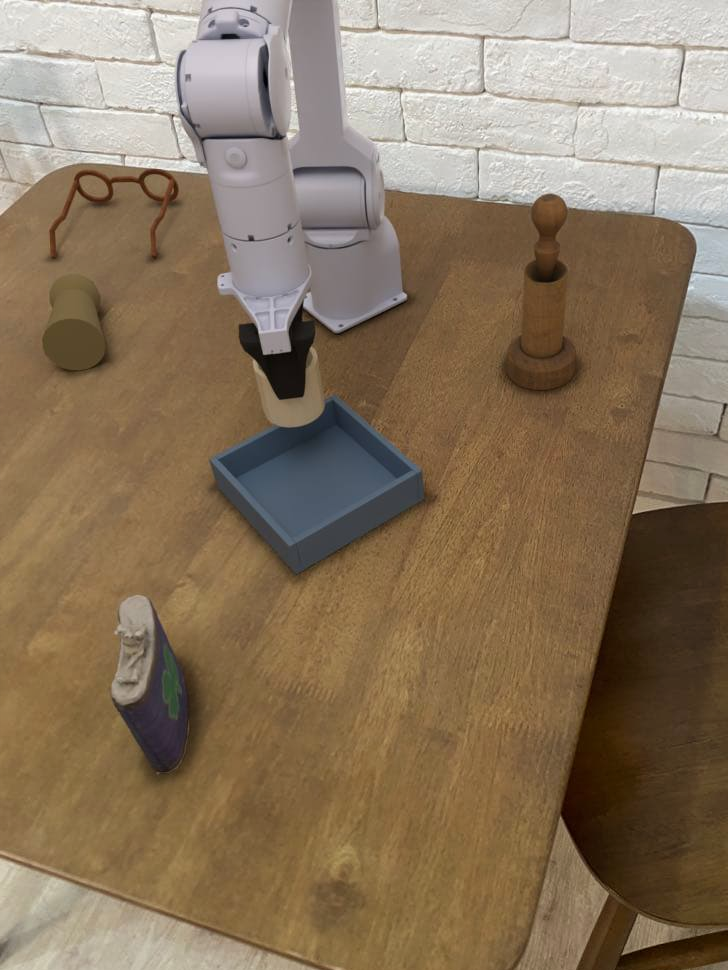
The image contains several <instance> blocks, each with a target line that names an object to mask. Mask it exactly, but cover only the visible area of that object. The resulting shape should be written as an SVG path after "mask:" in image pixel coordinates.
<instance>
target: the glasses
mask: <svg viewBox="0 0 728 970" xmlns="http://www.w3.org/2000/svg"><path fill="white" fill-rule="evenodd" d="M151 175H159V176H162V177H164V178H166V179H167V180H168V181H169V182H168V185H167V188H166V192H165V195H164V196H162V195H161V196H160V195H156V194H154V193H153V192H151V190H149V188H148V186H147V185H146V182H145V179H146V178H147V177H149V176H151ZM87 176H91V177H96V178H98V179H100V180H101V181H103V182H104V183H105V186H106V187H107V190H108V194H107V195H105V196H102V197H98V196H92V195H90V194H88V193H87V192H86V191H85V190H84V189H83V187H82V186H81V183H80V180H81V178H82V177H87ZM116 183H135V184H138V185H139V186H140V188H141V190H142V191H143V193H144V194H145V195H146V196H147V197H148V198H149V199H151V200H153V201H155V202H160V203H162V204H161V208H160V212H159V214H158V215H157V216H156V218H154V220H153V223H152V225H151V226H150V229H149V234H150V236H149V237H150V252H151V253H150V254H151V257H152V258H158V257H157V255H158V254H157V237H156V236H157V235H156V231H157V229H158V227H159V225H160V223H161V222H162V221H163V220H164V218H165V216H166V213H167V212H166V211H167V209H168V206H169V202H172V201H174V200H176V199H177V198H178V195H179V192H180V188H179V184H178V182H177V180H176V178H175V177H174V175H172V174H171V173H170V172H168V171H166V170H164V169H161V168H148V169H145V170H143V171H142V172H141V173H140V174H139V176H138V177H135V176H131V175H129V176H127V175H126V176H125V175H124V176H112V177H111V178H109V176H107V175H106V174H104V173H102V172H100V171H98V170H94V169H83V170H79V171H77V173H76V174H75V176H74V178H73V182H72V185H71V188H70V190H69V193H68V196H67V198H66V200H65V204H64V206H63V208H62V211H61V214H60V215H59V216H58V217H56V219H55V220H54V221H53V223H52V225H51V226H50V229H49V249H50V250H49V251H50V253H49V254H50V257H51V258H52V259H56V258H57V243H56V242H57V241H56V240H57V239H56V231H57V229H58V228H59V227H60V225H61V224H62V223H63V222H64V221H65V220H66V219H67V216H68V214H69V211H70V208H71V206H72V204H73V201H74V198H75V195H76V192H78V194H79V195H80V196H81V197H83V199H85V200H87V201H89V202H92V203H97V204H104V203H108V202H110V201H111V200H112V199H113V196H114V187H113V184H116Z"/></svg>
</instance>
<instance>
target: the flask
mask: <svg viewBox="0 0 728 970" xmlns="http://www.w3.org/2000/svg"><path fill="white" fill-rule="evenodd" d="M117 618H118V625H117V627H116V629H115V630H114V631H113V634H114V635H115V636H117V635H119V634H120V637H119V642H120V644H119V653H118V663H117V667H116V672H115V674H114V678H113V680H112V681H111V685H110V691H109V694H110V698H111V700H112V703H113V705H114V707H115V708H116V711H117V712H118V713H119V715H120V718H122V720H123V721H124V723H125V725H126V727H127V728H128V729H129V730H130V733H131V734H132V737H133V738H134V740H135V742H136V744H137V745H138V746H139V747H140V749H141V751H142V753H143V754H144V757H145V758H146V759H147V761H148V764H149V767H150V768H151V769H152V770H153V771H154V772H156V775H157V776H158V775H160V774H169V773H172V772H173V771H176V770H177V769H178V768H179V766H180V765H181V764H182V762H183V758H184V756H185V754H186V751H187V743H188V739H189V731H190V725H191V724H190V717H191V716H190V715H191V714H190V711H189V700H188V697H189V696H188V688H187V684H186V678H185V675H184V671H183V668H182V666H181V665H180V663H179V661H178V659H177V656H176V654H175V651H174V649H173V648H172V646H171V644H170V641H169V638H168V636H167V635H166V632H165V629H164V627H163V624H162V623H161V621H160V618H159V616H158V613H157V611H156V609H155V607H154V603H153V601H152V600H151V599H150V598H149V597H148V596H146V595H144V594H143V595H141V594H133V595H131V596H129V597H126V598H125V599H124V600H122V601H121V602H120V604H119V606H118V611H117Z"/></svg>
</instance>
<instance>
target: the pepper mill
mask: <svg viewBox="0 0 728 970" xmlns="http://www.w3.org/2000/svg"><path fill="white" fill-rule="evenodd" d="M49 304H50V306H51V312H50V314H49V318H48V320H47V323H46V326H45V329H44V333H43V336H42V338H41V340H42V343H41V345H42V346H41V347H42V350H43V352H44V355H45V356H46V357H47V358H48V359H49V361H51V363H53V364H54V365H56V366H58V367H60V368H62V369H64V370H65V369H66V370H68V371H84V370H88V369H91V368H92V367H94V366H97V365H98V363H99V362H100V361H102V360H103V358H104V355H105V353H106V340H105V336H104V333H103V330H102V326H101V322H100V319H99V315H98V312H99V310H100V307H101V294H100V291H99V289H98V287H97V286H96V284H95V283H94V282H93V281H92V280H90V278H88V277H87V276H84V275H81V274H76V273H67V274H64V275H62V276H60V277H58V278H57V279H56V280H55V281H54V282H53V283H52V285H51V287H50V290H49Z"/></svg>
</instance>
